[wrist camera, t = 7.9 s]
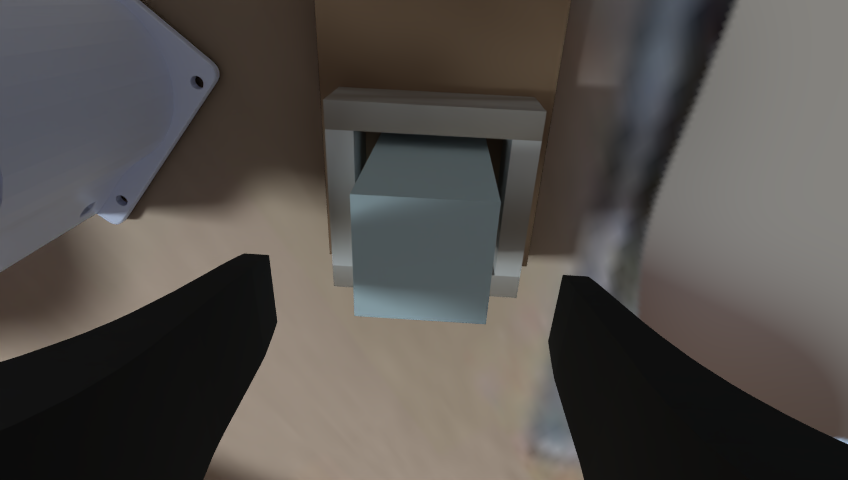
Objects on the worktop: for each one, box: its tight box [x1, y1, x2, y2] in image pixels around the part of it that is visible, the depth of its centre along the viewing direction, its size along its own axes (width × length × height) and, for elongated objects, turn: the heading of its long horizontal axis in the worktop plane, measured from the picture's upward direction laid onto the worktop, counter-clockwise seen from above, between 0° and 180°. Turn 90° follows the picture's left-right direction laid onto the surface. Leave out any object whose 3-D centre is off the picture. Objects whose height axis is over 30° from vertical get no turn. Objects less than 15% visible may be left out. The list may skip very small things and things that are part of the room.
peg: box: [350, 132, 501, 324], centre depth 16 cm, size 4×4×7 cm
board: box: [314, 0, 571, 298], centre depth 17 cm, size 14×9×4 cm, turn 178°
